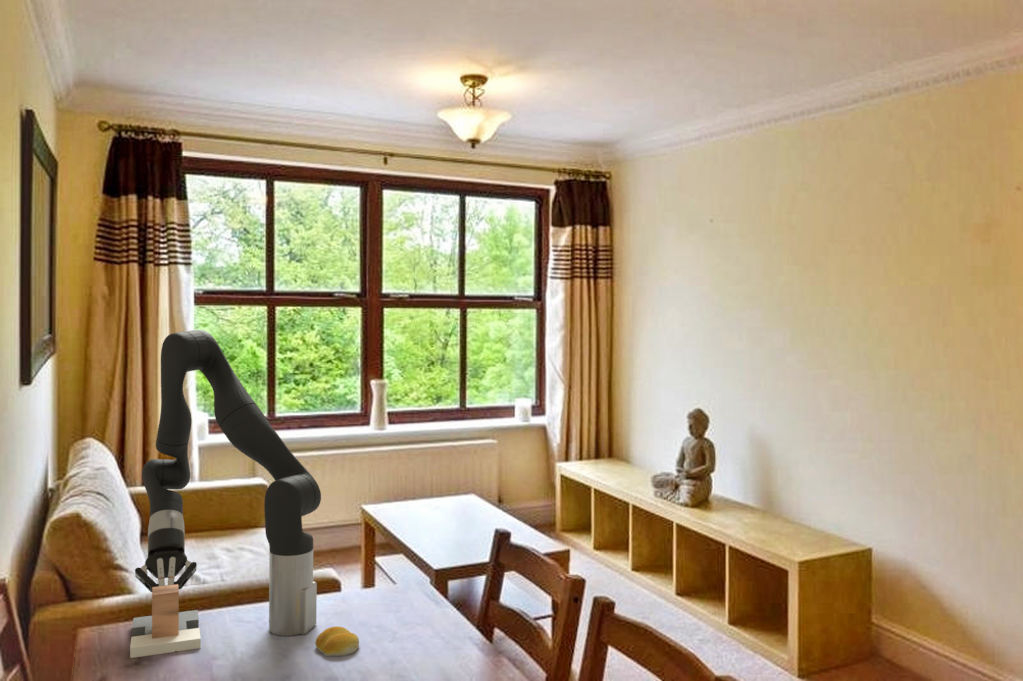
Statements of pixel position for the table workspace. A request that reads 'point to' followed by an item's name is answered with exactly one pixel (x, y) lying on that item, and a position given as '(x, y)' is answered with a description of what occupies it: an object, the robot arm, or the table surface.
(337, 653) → the bread roll
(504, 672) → the table surface
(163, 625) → the block
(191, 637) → the pad
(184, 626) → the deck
